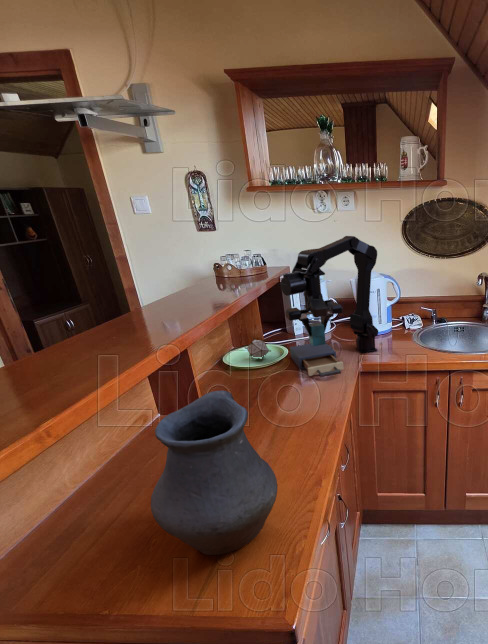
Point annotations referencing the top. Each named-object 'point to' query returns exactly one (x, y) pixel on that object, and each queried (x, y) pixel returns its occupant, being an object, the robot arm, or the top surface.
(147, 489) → the top surface
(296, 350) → the cabinet
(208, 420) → the dark grey clay pot
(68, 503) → the top surface
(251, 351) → the game die
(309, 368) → the drawer
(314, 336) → the block
